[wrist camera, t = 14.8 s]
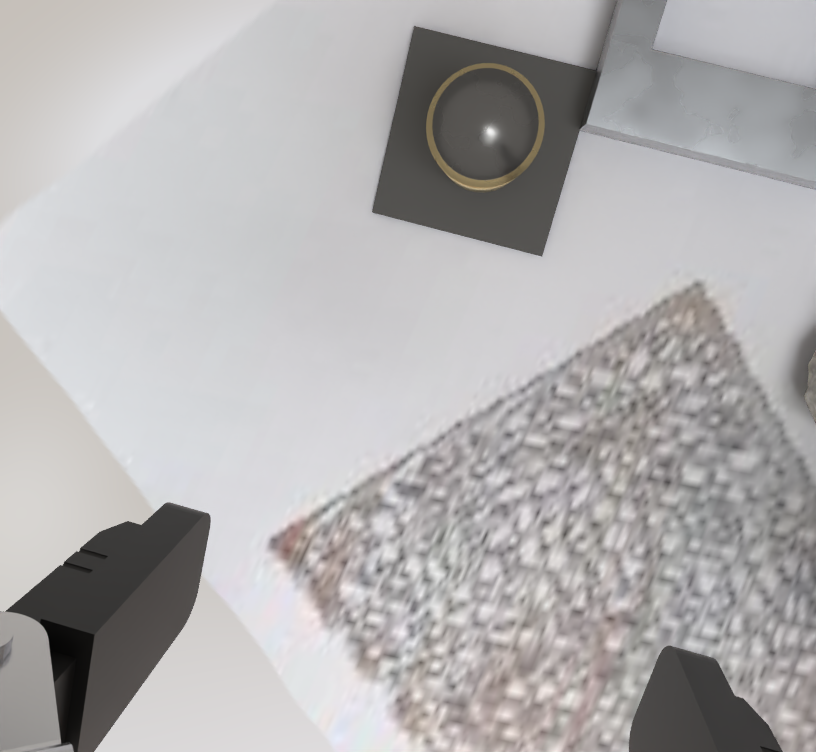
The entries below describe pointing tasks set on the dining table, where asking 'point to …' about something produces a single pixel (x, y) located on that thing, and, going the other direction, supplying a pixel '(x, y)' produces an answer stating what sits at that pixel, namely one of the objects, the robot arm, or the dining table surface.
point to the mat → (429, 185)
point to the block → (698, 104)
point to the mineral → (811, 387)
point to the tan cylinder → (485, 126)
